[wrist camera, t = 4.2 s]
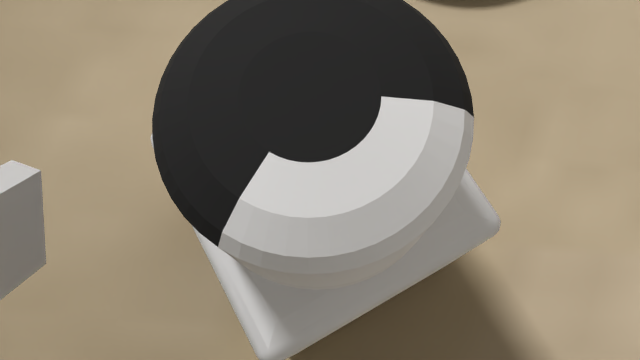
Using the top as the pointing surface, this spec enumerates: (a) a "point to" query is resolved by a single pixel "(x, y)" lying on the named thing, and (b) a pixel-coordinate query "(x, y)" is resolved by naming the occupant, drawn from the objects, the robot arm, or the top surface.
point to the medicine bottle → (319, 159)
